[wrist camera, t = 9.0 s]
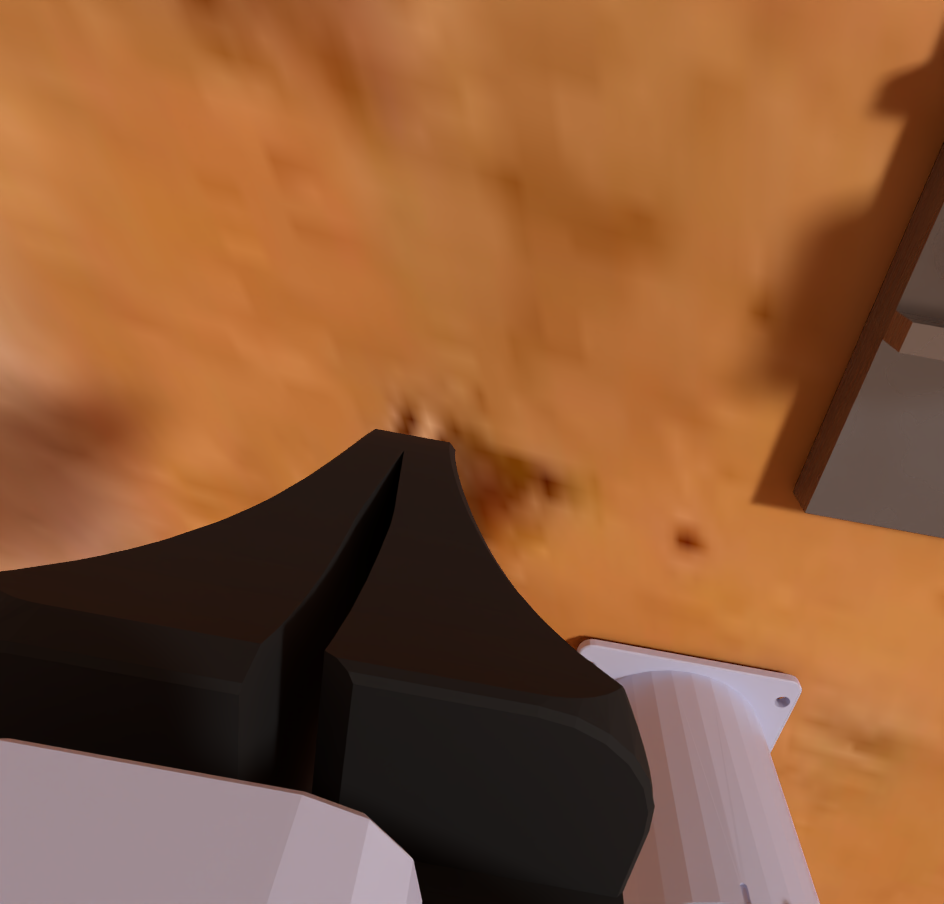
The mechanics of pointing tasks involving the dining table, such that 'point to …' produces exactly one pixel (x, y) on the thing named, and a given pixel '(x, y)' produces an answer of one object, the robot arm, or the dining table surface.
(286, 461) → the dining table surface
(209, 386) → the dining table surface
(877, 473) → the base plate
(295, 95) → the dining table surface
